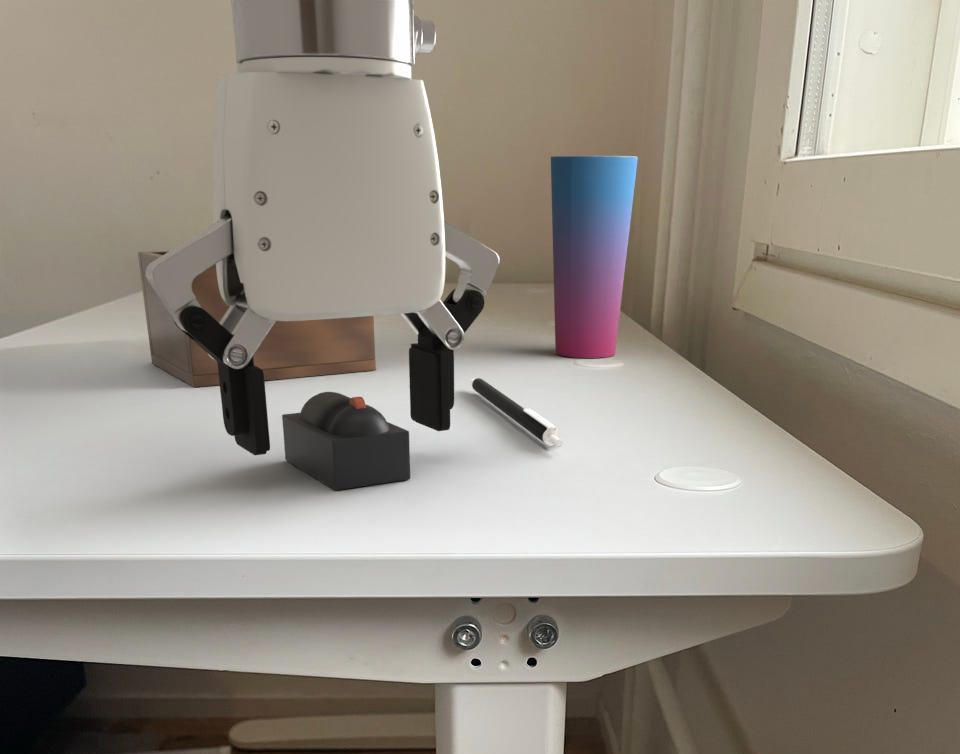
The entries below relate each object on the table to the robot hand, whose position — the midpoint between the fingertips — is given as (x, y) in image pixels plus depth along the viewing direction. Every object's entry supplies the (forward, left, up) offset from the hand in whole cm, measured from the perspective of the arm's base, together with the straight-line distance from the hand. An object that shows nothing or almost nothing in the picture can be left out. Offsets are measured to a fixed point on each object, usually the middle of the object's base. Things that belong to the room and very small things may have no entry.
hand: (345, 436), depth 51 cm
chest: (-16, +28, -2) cm, 32 cm away
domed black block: (0, 0, -2) cm, 2 cm away
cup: (+8, +40, -2) cm, 41 cm away
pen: (+6, +14, -2) cm, 15 cm away
